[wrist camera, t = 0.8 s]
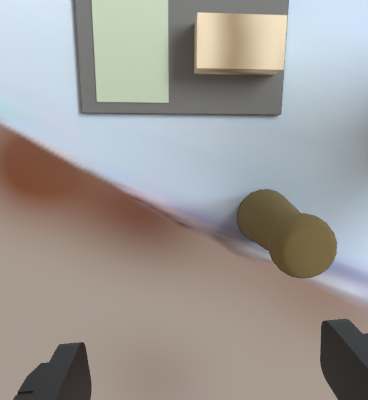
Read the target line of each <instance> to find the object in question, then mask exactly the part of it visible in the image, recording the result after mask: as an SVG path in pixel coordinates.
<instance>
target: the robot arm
mask: <svg viewBox="0 0 368 400" xmlns="http://www.w3.org/2000/svg"><path fill="white" fill-rule="evenodd" d="M320 362H321V368H322V372H323V374H324V377H325V379H326V381H327V383H328V384H329V386H330V387H331V389H332V390H333V392H334V394H335V395H336V397H337V398H338V400H368V334H362V333H361V332H360V331H359V330H358V329H357V328H356V327H355V326H354V324H353V323H352V322H351V321H349V320H348V319H338V320H328V321H323V322H322V326H321V355H320ZM90 398H91V377H90V371H89V365H88V359H87V353H86V347H85V344H84V343H83V342H81V343H69V344H60V345H59V346H58V347H57V349H56V350H55V352H54V354H53V356H52V358H51V360H50V362H49V363H41V364H40V365H39V366H38V367H37V368H36V369H35V370H34V371H32V372H31V373H30V374H29V375H28V376H27V378H26V379H25V381H24V383H23V384H22V386H21V388H20V389H19V391H18V394H17V395H16V396H15V398H14V399H13V400H90Z"/></svg>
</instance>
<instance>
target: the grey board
mask: <svg viewBox="0 0 368 400" xmlns="http://www.w3.org/2000/svg"><path fill="white" fill-rule="evenodd" d="M288 6H289V0H75V8H76V23H77V39H78V55H79V71H80V87H81V102H82V113H155V114H251V115H281V106H282V92H283V78H284V70H282V71H281V72H279V73H277V74H275V75H228V74H194V31H195V20H196V16H197V12H201V13H232V14H263V15H287V20H288ZM286 35H287V30H286ZM285 49H286V44H285ZM284 63H285V59H284Z"/></svg>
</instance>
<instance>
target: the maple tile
mask: <svg viewBox="0 0 368 400" xmlns="http://www.w3.org/2000/svg"><path fill="white" fill-rule="evenodd" d="M286 30H287V15H263V14H232V13H201V12H197V16H196V20H195V31H194V74H228V75H275V74H277V73H279V72H281V71H282V70H284V59H285V44H286Z"/></svg>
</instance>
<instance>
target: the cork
mask: <svg viewBox="0 0 368 400" xmlns="http://www.w3.org/2000/svg"><path fill="white" fill-rule="evenodd" d="M237 221H238V225H239V228H240V230H241V231H242V232H243V234H244V235H245V236H246V237H248V238H249V239H251V240H252V241H254V242H256V243H257V244H259V245H260V246H262V247H263V248H265V249H266V250H268V251H269V253H270V256H271V259H272V261H273V262H274V263H275V264H276V266H277V267H278V268H279V269H280V270H281V271H283V272H284V273H286V274H288V275H290V276H292V277H296V278H311V277H314V276H317V275H319V274H321V273H323V272H324V271H325V270H327V269H328V268H329V267H330V265H331V264H332V263H333V261H334V258H335V256H336V249H337V241H336V238H335V235H334V232H333V231H332V230H331V228H330V227H329V226H328V224H327V223H326V222H324V221H323V220H321V219H320V218H318V217H316V216H313V215H309V214H303V213H300V212H299V211H298V210H297V209H296V208H295V207H294V206H293V205H292V204H291V203H290V202H289V201H288V200H287V199H286V198H285V197H283V196H282V195H281V194H279V193H278V192H276V191H272V190H268V189H266V190H258V191H256V192H253V193H251V194H250V195H249V196H247V197H246V198H245V199H244V200H243V202H242V203H241V205H240V207H239V210H238V213H237Z"/></svg>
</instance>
